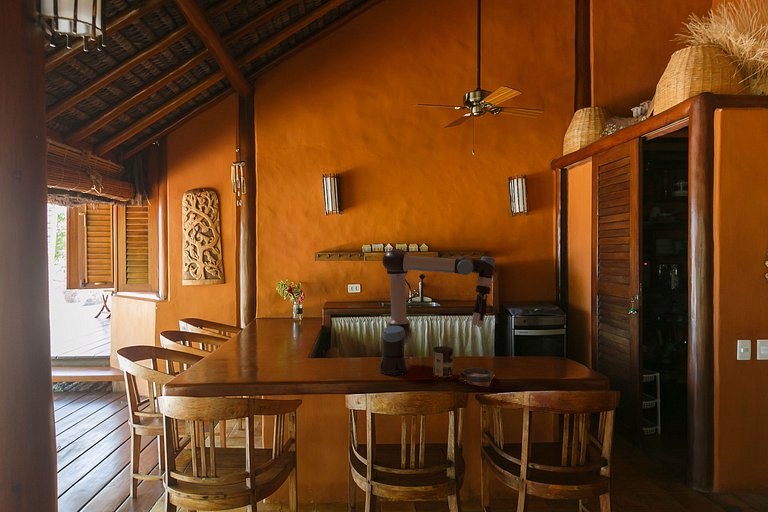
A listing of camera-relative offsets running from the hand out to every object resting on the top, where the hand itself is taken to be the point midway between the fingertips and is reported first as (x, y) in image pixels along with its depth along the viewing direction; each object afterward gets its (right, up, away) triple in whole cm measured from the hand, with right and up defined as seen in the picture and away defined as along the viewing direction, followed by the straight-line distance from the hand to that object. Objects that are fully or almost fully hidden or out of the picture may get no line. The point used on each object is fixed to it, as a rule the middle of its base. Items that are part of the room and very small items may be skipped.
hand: (476, 325), depth 250 cm
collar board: (-1, -26, -8) cm, 28 cm away
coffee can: (-18, -26, -1) cm, 31 cm away
